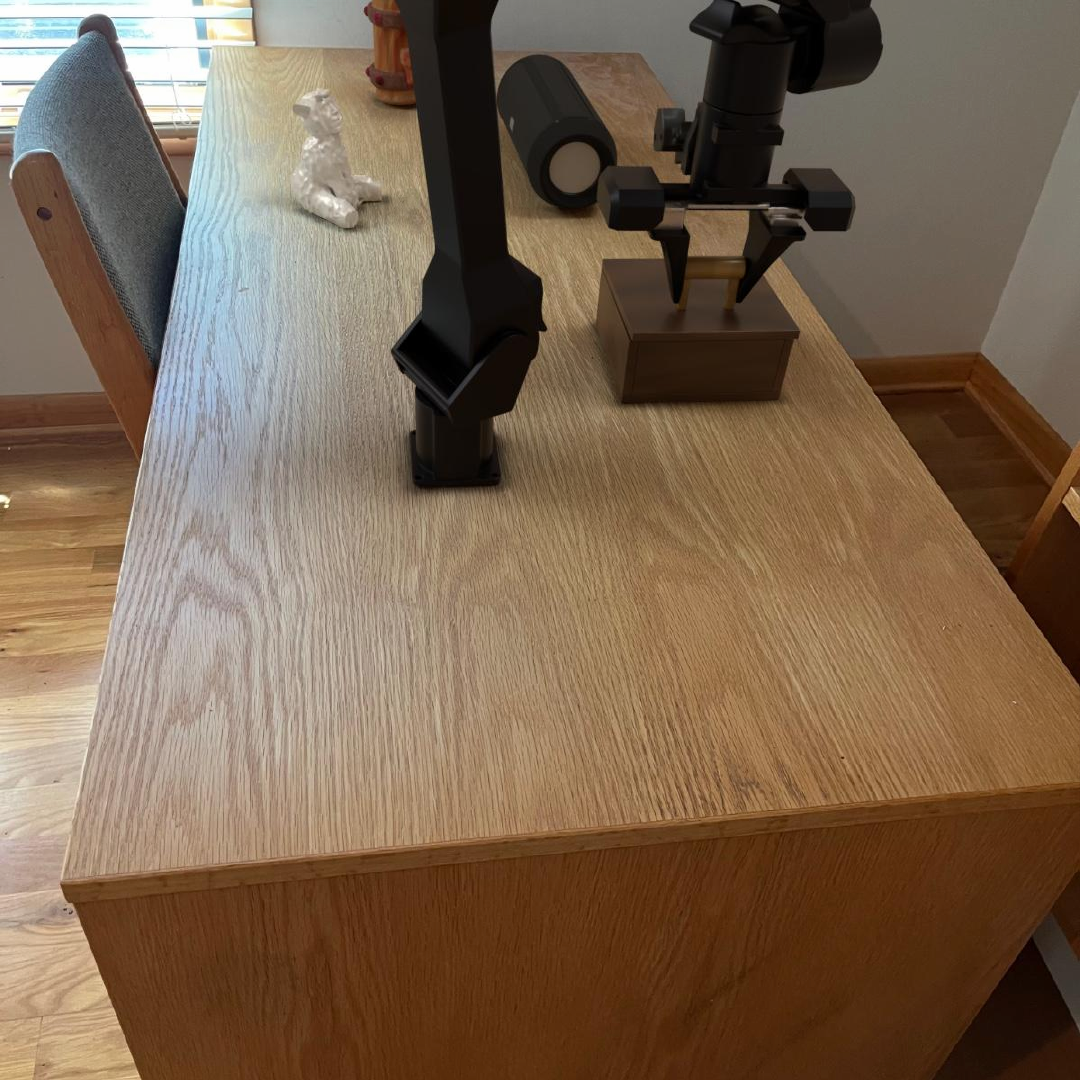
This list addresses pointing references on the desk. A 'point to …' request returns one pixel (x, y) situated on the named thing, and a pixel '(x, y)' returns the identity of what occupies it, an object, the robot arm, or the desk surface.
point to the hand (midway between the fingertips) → (706, 301)
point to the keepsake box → (688, 363)
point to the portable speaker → (555, 131)
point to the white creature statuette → (328, 165)
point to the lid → (696, 302)
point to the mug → (390, 54)
